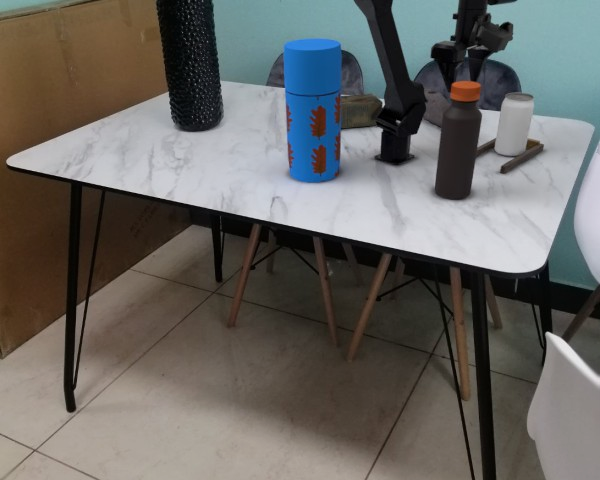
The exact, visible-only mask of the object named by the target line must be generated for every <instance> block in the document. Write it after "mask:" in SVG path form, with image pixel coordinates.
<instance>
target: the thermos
mask: <svg viewBox="0 0 600 480" xmlns="http://www.w3.org/2000/svg"><path fill="white" fill-rule="evenodd" d="M342 54H343V53H342V44H341V42H340V41H338V40H335V39H329V38H303V39H302V38H301V39H296V40H291V41H288V42H285V43H283V55H282V56H283V78H284V97H285V98H284V101H285V121H286V143H287V146H286V147H287V160H288V169H289V176H290V177H291V178H292V179H294V180H297V181H299V182H304V183H323V182H328V181H331V180H334V179H335V178H337V177H338V176H339V174H340V170H341V169H340V168H341V156H342V155H341V149H342V146H341V145H342V144H341V143H342V139H341V138H342V128H341V96H342V61H343V59H342V57H343V55H342Z"/></svg>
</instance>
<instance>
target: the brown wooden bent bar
mask: <svg viewBox="0 0 600 480" xmlns="http://www.w3.org/2000/svg"><path fill="white" fill-rule="evenodd" d="M495 142H496V137H494V138H493V139H491V140H489V141H487V142H485V143H483V144H481V145H478V147H477V153H476V158H478V157H479V156H481V155H483V154H485V153H487V152H488V151H490V150H493V149H494V148H495ZM544 147H545V143H541V140H537V139H533V138H529V137H528V139H527V144H526V149H527V150H526V149H525V152H524V153H522V154H521V155H519V156H514V158H512V159H510V160H509V161H507V162H505V163H503V164H502V165H500V170H499V173H500V174H504V175H505V174H507V173H508V172H510V171H512V170H513V169H515V168H516V167H518V166H520V165H521V164H524V163H525V162H527V161H528V160H530V159H532V158H533V157H535V156H537V155H538V154H540V153H541V152H543V151H544Z"/></svg>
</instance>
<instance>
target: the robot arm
mask: <svg viewBox="0 0 600 480" xmlns="http://www.w3.org/2000/svg"><path fill="white" fill-rule="evenodd" d="M517 1H518V0H458V3H457V4H458V5H457V12H454V13H452V20H456V22H455V30H454V34H451V35H450V37H449V40H443V41H440V42H435V44H433V45H432V46H430V47H431V48H430V56H429V57H430V59H433V62H435V63H436V65H437V67H438V69H439V72H440V74H441V77H442V79H443V83H444V86H445V88H446V91H447V93H450V94H451V87H452V84H453V83H454V82H457V78H458V73H459V69H460V67H461V66H463V65H464V63H466V61H468V70H469V71H468V73H469V79H470V80H469V81H471V82H477V83H478V80H479V78H480V76H481V74H482V72H483V69H484V66H485V64H486V63H487V61H488V59H489V57H491V56H492V55H493V54H497V53H499V52H500V51H505V49H506V48H507V46H508V43H509V42H512V41H513V39H514V23H512V22H511V21H504V22H502V23H501V24H499V23H496V24H495V23H493V22H492V15H491V12H488V7H489V6H498V5H505V4H506V5H507V4H513V3H516V2H517ZM353 2H354V4H355V6H357V8H358V9H359V10H360V11H361V13H362V14H363V16H364V17H365V19H366V21H367V25H368V29H369V31H370V36H371V38H372V41H373V45H374V49H375V52H376V55H377V58H378V62H379V65H380V68H381V72H382V75H383V78H384V81H385V90H384V94H383V102H384V105H382V109H381V110H380V112H379V113H378V114H377V116H376V117H375V119H374V120H375V123H376V125H375V127H377V128H379V129H381V130H382V131H381V133H380V153H378V154H376V155H374V157H373V158H374V160H378V161H381V162H384V163H387V164H390V165H393V166H400V165H402V164H404V163H407V162H408V161H411V160H412V159H415V157H416V155H415V154H412V153H411V152H410V151H411V142H412V141H411V140H412V136H414V135H417V134H418V132H419V129H420V127H421V124H422V121H423V119H424V118H423V116H424V113H426V104H425V102H428V100H427V99H426V97H425V94H424V88H425V86H424V84H423V83H421V82H418V81H415V80H413V79H411V77H410V73H409V71H408V66H407V62H406V59H405V55H404V51H403V48H402V43H401V40H400V36H399V33H398V29H397V25H396V21H395V18H394V13H393V8H392V7H393V3H394V0H353ZM466 56H467V60H466V59H465V58H466Z"/></svg>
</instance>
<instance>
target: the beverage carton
mask: <svg viewBox="0 0 600 480" xmlns="http://www.w3.org/2000/svg"><path fill="white" fill-rule="evenodd" d="M383 102H384V101H382V100H381V99H380V98H379V97H378V96H377V95H375V93H371V92H369V93H366V94H365V93H363V94H352V95H351V94H350V95H341V129H350V128H361V127H372V126H376V123H375V120H374V119H375V117H376V116H377V114H378V113H379V112H380V110H381V109H382V108H383V106H384V105H383Z"/></svg>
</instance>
